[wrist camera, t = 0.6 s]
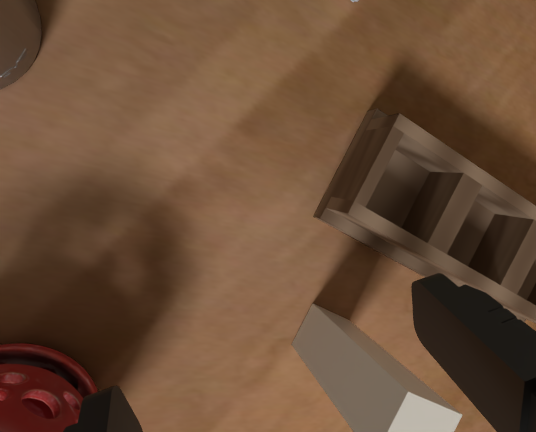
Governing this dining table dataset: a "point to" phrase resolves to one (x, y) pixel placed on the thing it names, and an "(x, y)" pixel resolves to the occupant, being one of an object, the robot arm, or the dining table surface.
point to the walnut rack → (434, 211)
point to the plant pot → (40, 389)
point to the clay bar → (368, 379)
